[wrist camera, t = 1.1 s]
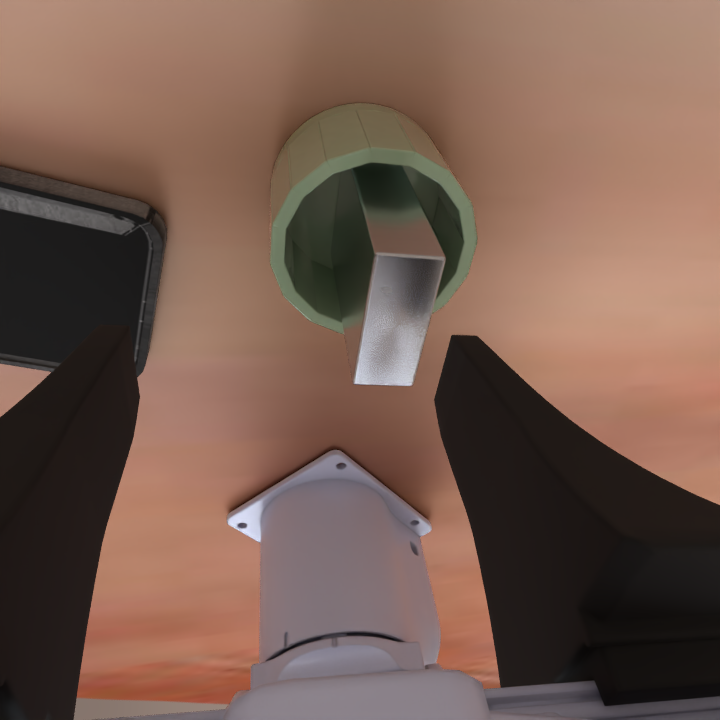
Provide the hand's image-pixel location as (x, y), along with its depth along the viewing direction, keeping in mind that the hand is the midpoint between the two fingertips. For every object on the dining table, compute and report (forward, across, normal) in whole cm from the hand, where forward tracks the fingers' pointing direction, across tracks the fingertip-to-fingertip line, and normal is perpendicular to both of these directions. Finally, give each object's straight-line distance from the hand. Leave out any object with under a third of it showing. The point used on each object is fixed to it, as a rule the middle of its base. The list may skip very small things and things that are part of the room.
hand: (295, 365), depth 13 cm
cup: (+10, -3, 0) cm, 11 cm away
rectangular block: (+9, -3, 0) cm, 10 cm away
